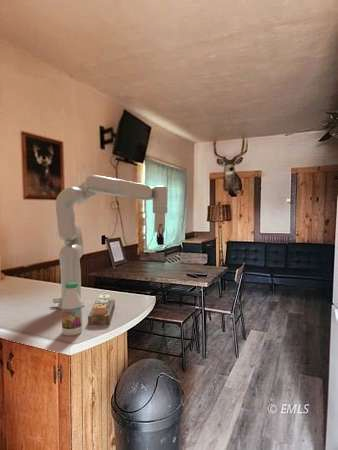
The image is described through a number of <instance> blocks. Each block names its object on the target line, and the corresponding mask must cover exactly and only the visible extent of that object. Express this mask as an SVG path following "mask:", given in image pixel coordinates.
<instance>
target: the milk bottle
mask: <svg viewBox="0 0 338 450" xmlns="http://www.w3.org/2000/svg"><path fill="white" fill-rule="evenodd" d="M77 286H78V284H77V282H68V283H66V284H65V287H66V288H65V289H66V294H65V296H64V299H63V302H62V309H61V331H62V335H64V336H68V337H72V336H77V335H79V334H81V333H82V332H83V307H82V303H81V301H82V298H81V299H80V297H79V295H78V292H77Z"/></svg>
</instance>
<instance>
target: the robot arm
mask: <svg viewBox="0 0 338 450" xmlns="http://www.w3.org/2000/svg"><path fill="white" fill-rule="evenodd" d="M97 194H103V195H109V196H114V197H126V198H133V199H138V200H141V201H150V200H151V201H152V214H154V220H153V221H154V223H153V225H154V230H153V231H154V233H155V234H156V243H157V246H164V245H165V244H164V243H165V237H164V233H165V230H166V214H168V187H167V186H165V185H154V186H150V185H149V184H145V183H139V182H134V181H129V180H128V181H127V180H124V179H119V178H114V177H110V176H109V177H108V176H103V175H97V174H90V175H87V177H86V179H85V181H84V182H83V183H82V184H80V185H78V186H68V187H66V188H65V189H63V190H61V192H59V193H58V195H57V196H56V199H55V200H56V201H55V213H56V221H57V222H56V223H57V232H58V236H59V238H60V239H61V240H62V241H63V243H64V245H63V247H61V249H60V250H59V255H58V257H59V259H58V260H59V266H60V291H61V292H60V293H61V296H60V297H59V298H57V297H56V298H55V297H53V298H52V303H54V304H58V307H57V308H58V309H60V310H62V302H63V299H64V296H65V294H66V289H65V288H66V287H65V284H66V283H68V282H77V284H78V286H77V292H78V295H79V297H80V299H81V303H82V308H83V307H84V306H85V302H84V301H83V300H82V279H81V278H82V275H81V274H82V273H81V272H82V271H81V270H82V269H81V262H80V261H81V260H80V259H81V257H82V256H83V254H84V251H85V250H84V242H83V235H82V229H81V227H80V226H81V225H79V224H78V222H76V217H75V216H76V215H75V211H74V206H75V205H81V204H82V203H85V202H86V201H88V200H89V199H92V197H94V196H96V195H97Z"/></svg>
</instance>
